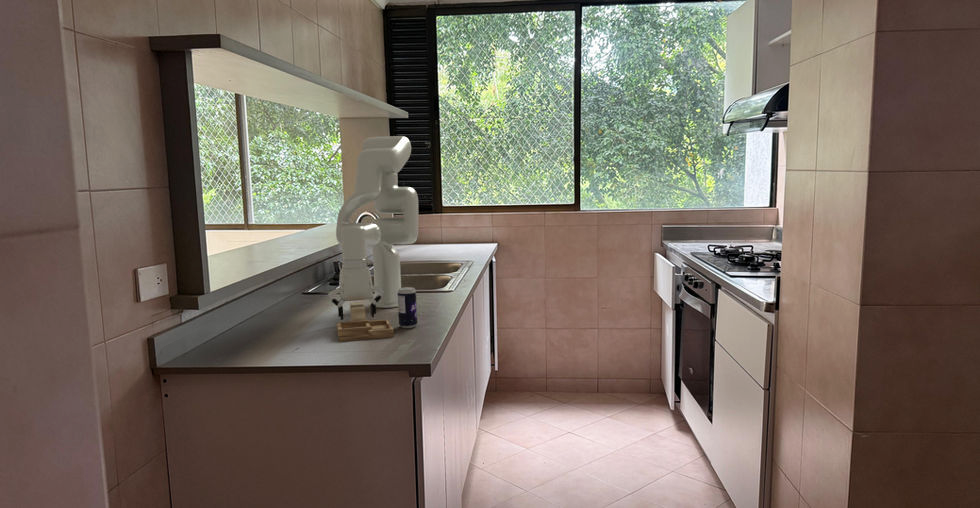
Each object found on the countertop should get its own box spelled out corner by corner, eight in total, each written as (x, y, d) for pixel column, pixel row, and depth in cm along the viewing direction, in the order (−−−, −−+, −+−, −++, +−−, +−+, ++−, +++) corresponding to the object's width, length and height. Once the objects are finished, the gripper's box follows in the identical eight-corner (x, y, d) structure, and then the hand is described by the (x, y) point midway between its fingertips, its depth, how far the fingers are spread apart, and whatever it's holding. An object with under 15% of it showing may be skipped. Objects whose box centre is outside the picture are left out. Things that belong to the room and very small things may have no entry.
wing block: (350, 321, 211) (349, 303, 211) (363, 320, 213) (362, 302, 212) (353, 328, 202) (352, 309, 201) (366, 327, 203) (365, 308, 202)
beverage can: (414, 328, 198) (412, 290, 197) (396, 328, 199) (394, 290, 198) (419, 324, 204) (418, 286, 202) (402, 324, 205) (400, 286, 203)
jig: (336, 330, 199) (336, 321, 198) (387, 326, 203) (387, 316, 202) (339, 341, 185) (338, 331, 185) (393, 336, 189) (393, 326, 189)
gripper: (381, 261, 211) (383, 313, 213) (326, 264, 206) (329, 317, 208) (383, 264, 203) (386, 317, 205) (327, 267, 199) (330, 322, 201)
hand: (357, 317), depth 207 cm, fingers open, 9 cm apart
